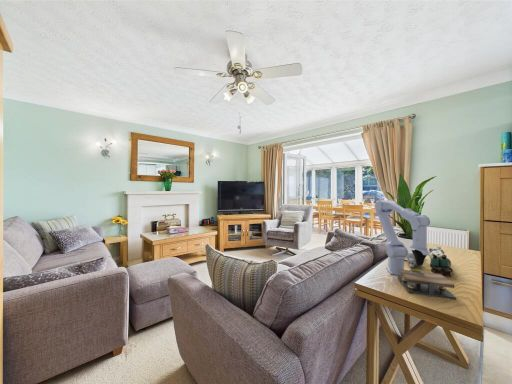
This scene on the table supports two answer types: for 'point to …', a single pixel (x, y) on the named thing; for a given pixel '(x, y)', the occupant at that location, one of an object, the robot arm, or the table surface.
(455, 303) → the table surface
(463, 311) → the table surface
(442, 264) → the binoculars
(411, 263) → the round bodied animal figurine
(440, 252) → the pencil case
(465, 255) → the table surface
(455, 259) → the table surface
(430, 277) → the instrument plate
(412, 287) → the leveling stand
